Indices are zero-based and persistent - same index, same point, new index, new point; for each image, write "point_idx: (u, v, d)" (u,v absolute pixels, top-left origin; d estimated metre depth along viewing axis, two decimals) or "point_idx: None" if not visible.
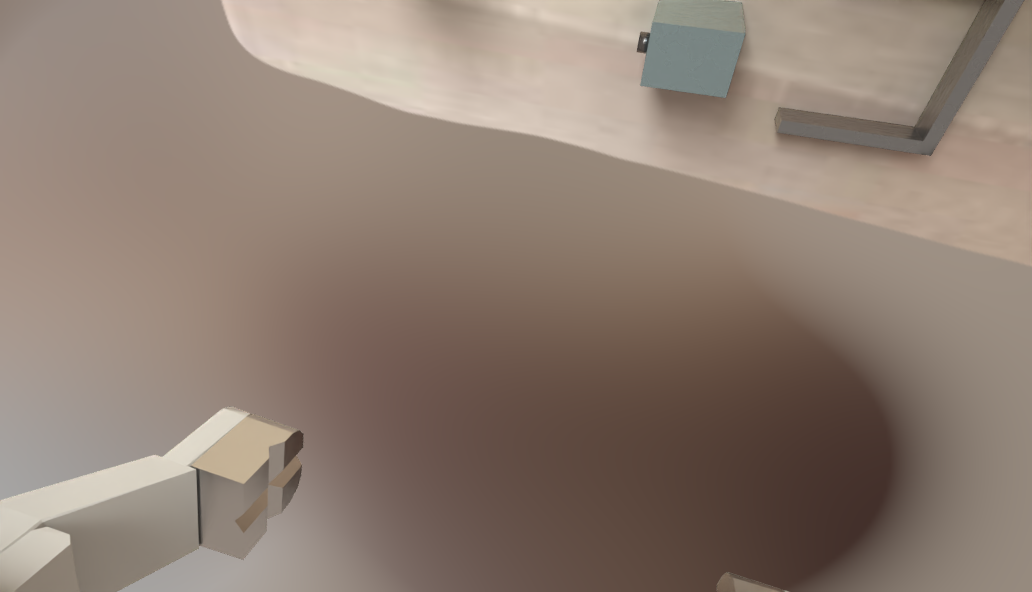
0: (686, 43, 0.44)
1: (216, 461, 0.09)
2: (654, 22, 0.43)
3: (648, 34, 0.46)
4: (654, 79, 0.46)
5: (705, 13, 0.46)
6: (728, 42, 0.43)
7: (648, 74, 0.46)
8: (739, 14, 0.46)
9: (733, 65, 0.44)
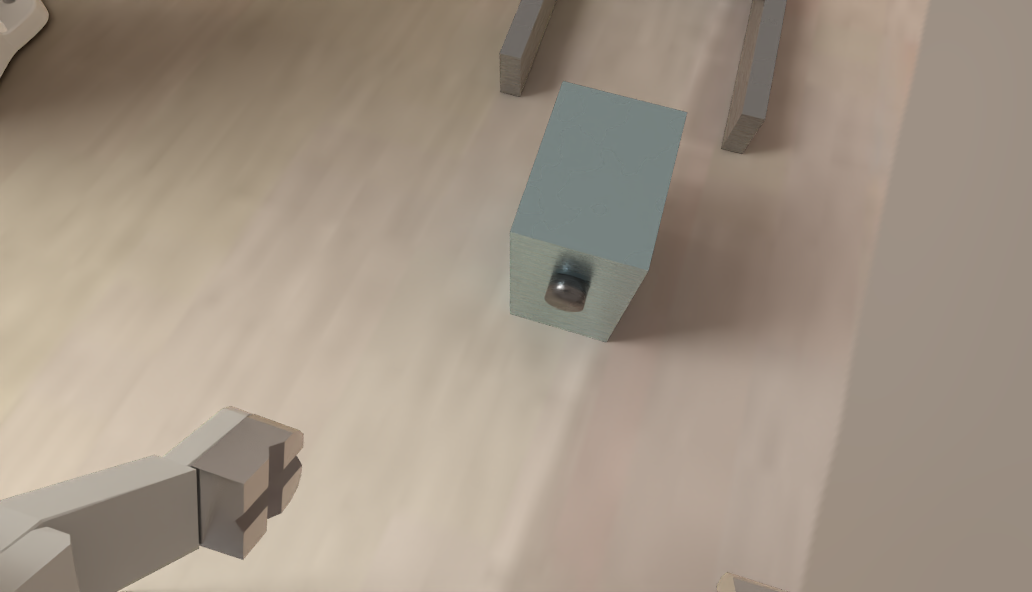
0: (566, 173, 0.20)
1: (216, 460, 0.09)
2: (512, 229, 0.20)
3: (550, 280, 0.22)
4: (637, 238, 0.20)
5: None
6: (575, 105, 0.22)
7: (623, 250, 0.19)
8: None
9: (621, 99, 0.22)
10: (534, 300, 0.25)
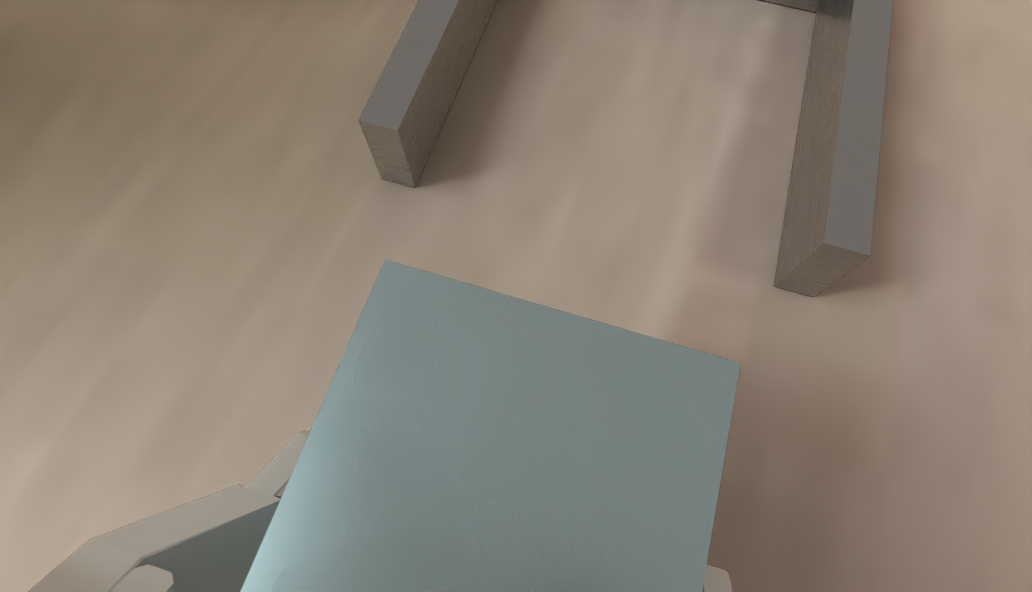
0: None
1: None
2: None
3: None
4: None
5: None
6: (411, 342, 0.07)
7: None
8: None
9: (547, 318, 0.07)
10: None
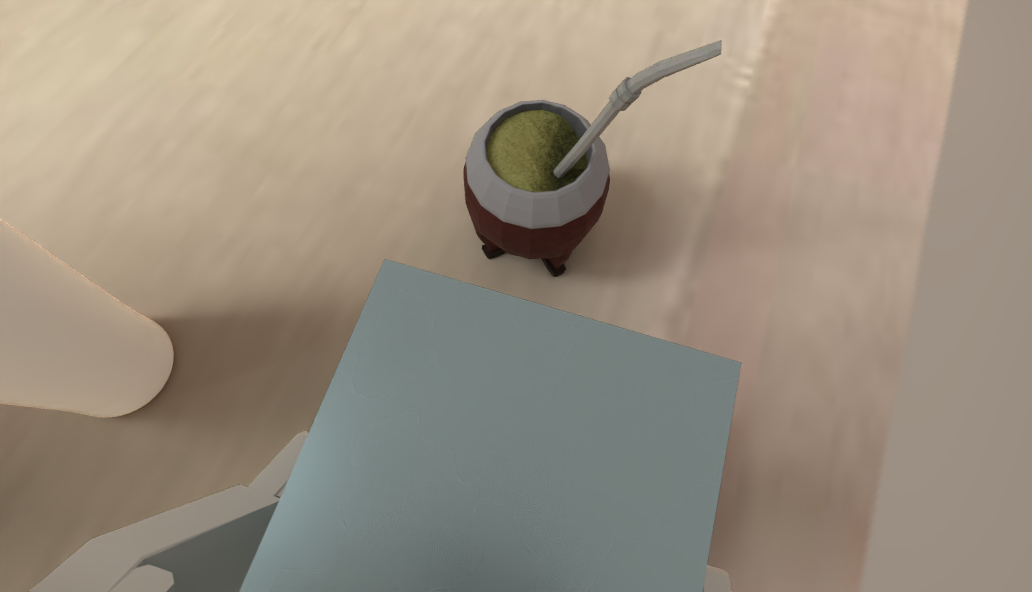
0: None
1: None
2: None
3: None
4: None
5: None
6: (410, 342, 0.07)
7: None
8: None
9: (546, 318, 0.07)
10: None
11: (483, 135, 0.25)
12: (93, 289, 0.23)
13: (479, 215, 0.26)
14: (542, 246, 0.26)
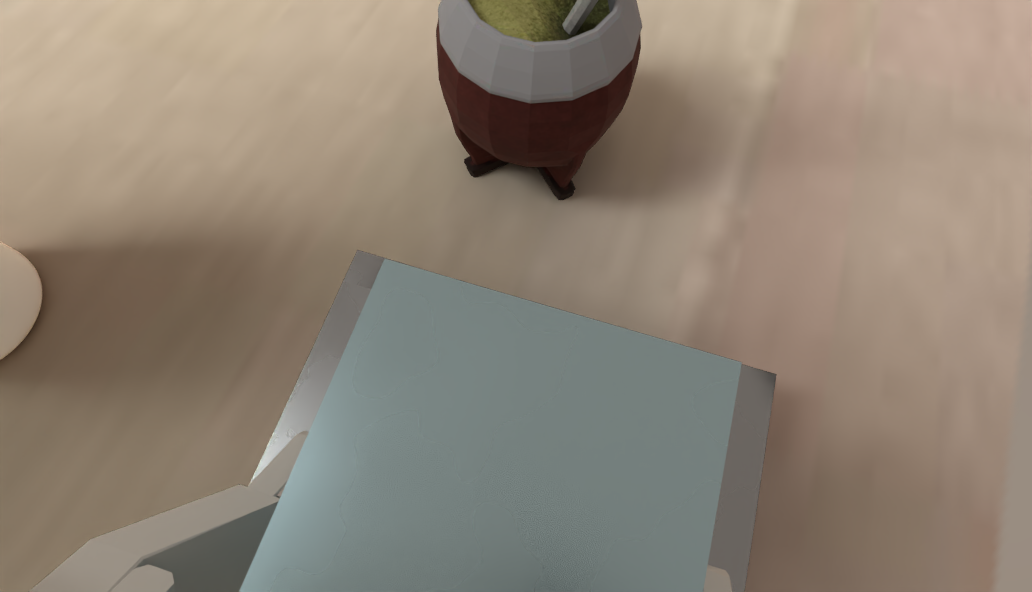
0: None
1: None
2: None
3: None
4: None
5: None
6: (410, 341, 0.07)
7: None
8: None
9: (547, 317, 0.07)
10: None
11: None
12: None
13: (456, 89, 0.18)
14: (545, 137, 0.18)
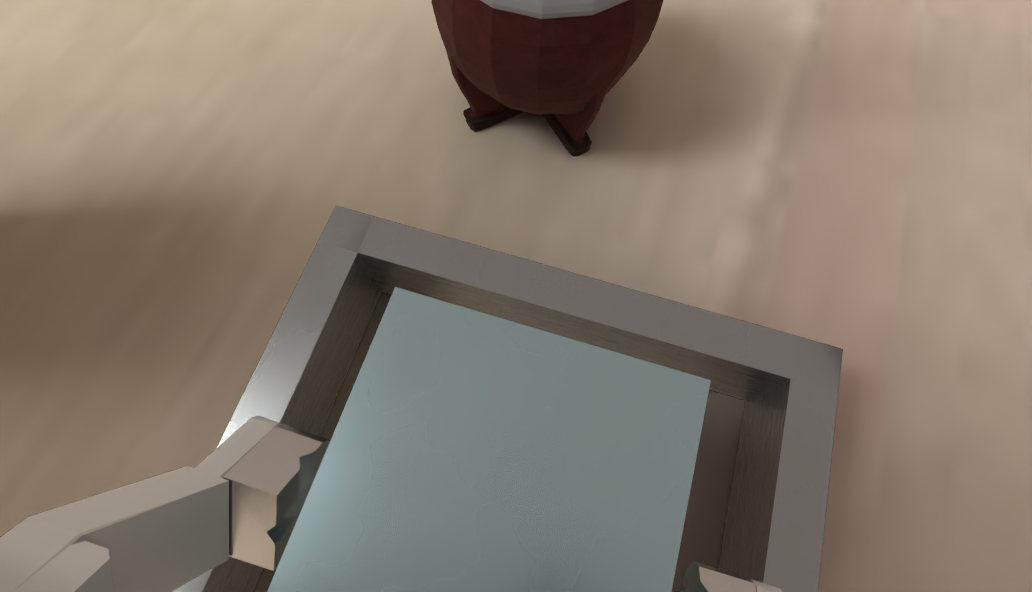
0: None
1: (248, 472, 0.09)
2: None
3: None
4: None
5: None
6: (418, 361, 0.08)
7: None
8: None
9: (539, 340, 0.08)
10: None
11: None
12: None
13: (452, 9, 0.15)
14: (559, 67, 0.15)
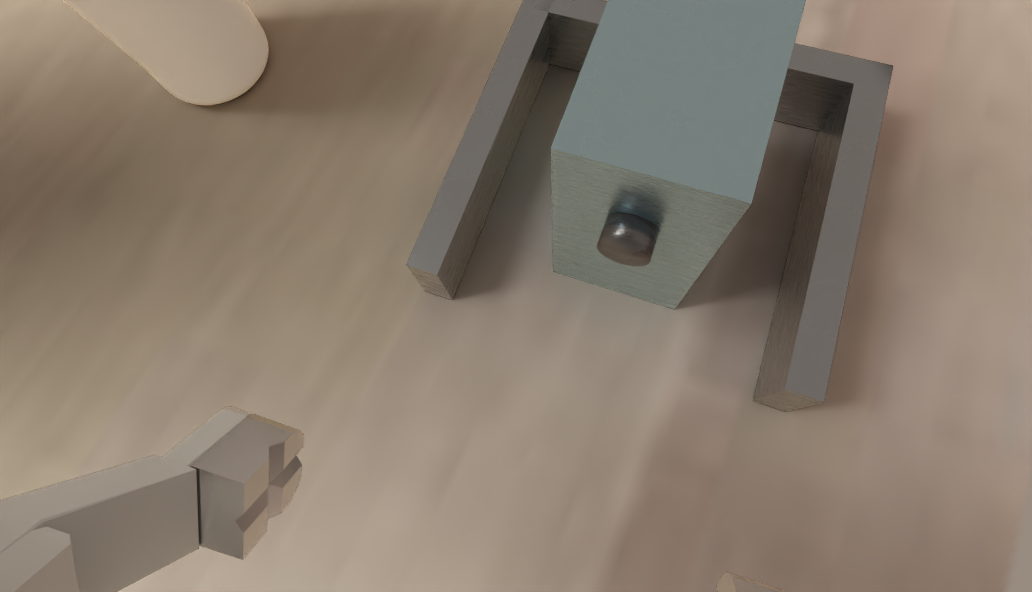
0: (632, 67, 0.14)
1: (216, 460, 0.09)
2: (554, 144, 0.14)
3: (605, 222, 0.16)
4: (735, 158, 0.13)
5: None
6: None
7: (714, 174, 0.13)
8: None
9: None
10: (583, 253, 0.19)
11: None
12: None
13: None
14: None
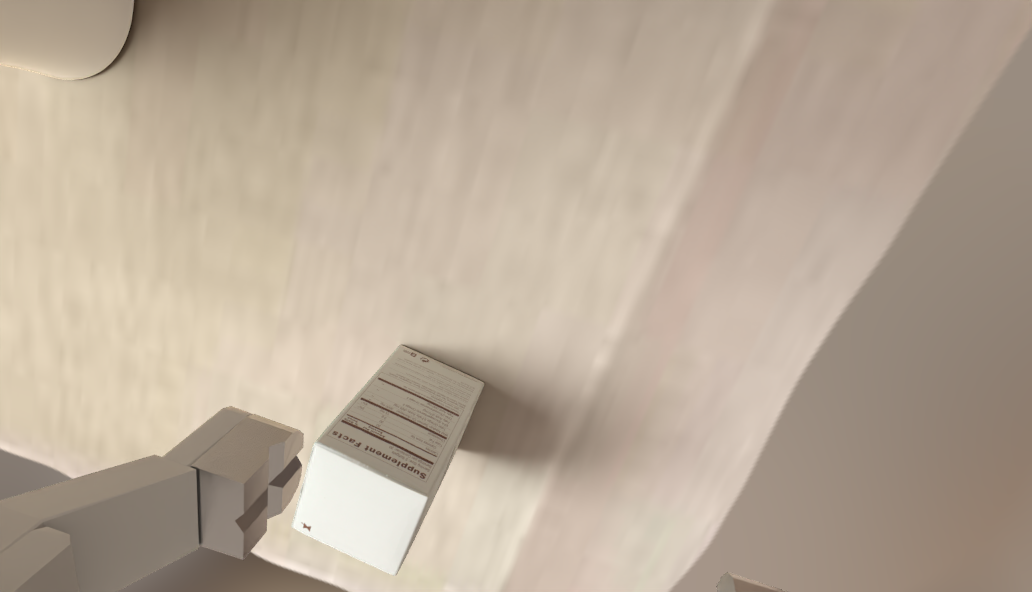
0: None
1: (216, 460, 0.09)
2: None
3: None
4: None
5: None
6: None
7: None
8: None
9: None
10: None
11: None
12: None
13: None
14: None
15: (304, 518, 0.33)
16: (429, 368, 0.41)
